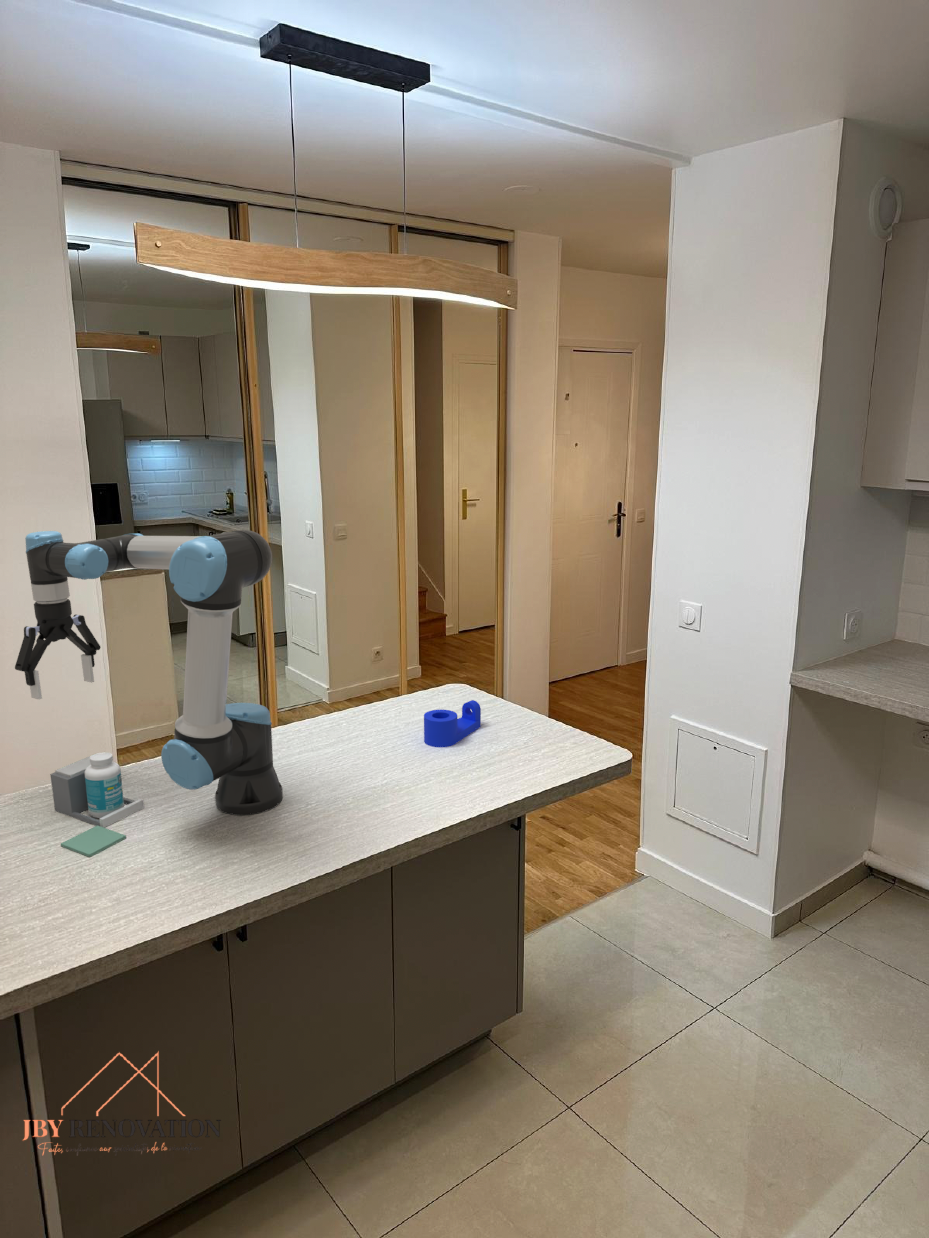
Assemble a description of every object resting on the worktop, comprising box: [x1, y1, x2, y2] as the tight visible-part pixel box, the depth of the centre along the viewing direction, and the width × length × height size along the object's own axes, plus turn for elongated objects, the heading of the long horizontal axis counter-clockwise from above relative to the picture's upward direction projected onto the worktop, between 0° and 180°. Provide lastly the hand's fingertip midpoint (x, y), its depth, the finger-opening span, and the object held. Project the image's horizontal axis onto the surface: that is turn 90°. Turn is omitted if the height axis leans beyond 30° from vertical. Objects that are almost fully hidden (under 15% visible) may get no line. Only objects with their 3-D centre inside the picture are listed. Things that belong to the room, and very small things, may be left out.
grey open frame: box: [49, 755, 145, 828], centre depth 192 cm, size 16×11×10 cm
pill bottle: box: [85, 751, 125, 819], centre depth 191 cm, size 8×7×14 cm
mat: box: [60, 825, 127, 858], centre depth 179 cm, size 9×9×1 cm
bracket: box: [423, 699, 482, 748], centre depth 236 cm, size 20×9×8 cm, turn 142°
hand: (63, 689), depth 198 cm, fingers open, 13 cm apart
